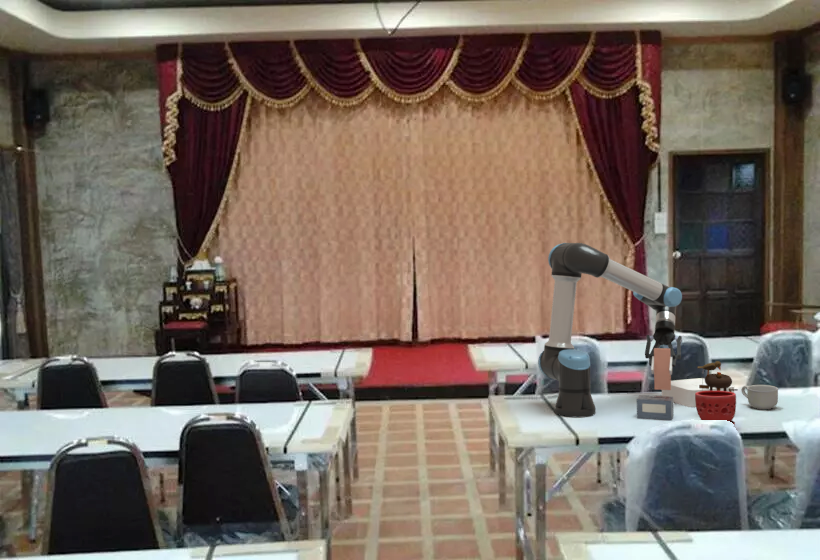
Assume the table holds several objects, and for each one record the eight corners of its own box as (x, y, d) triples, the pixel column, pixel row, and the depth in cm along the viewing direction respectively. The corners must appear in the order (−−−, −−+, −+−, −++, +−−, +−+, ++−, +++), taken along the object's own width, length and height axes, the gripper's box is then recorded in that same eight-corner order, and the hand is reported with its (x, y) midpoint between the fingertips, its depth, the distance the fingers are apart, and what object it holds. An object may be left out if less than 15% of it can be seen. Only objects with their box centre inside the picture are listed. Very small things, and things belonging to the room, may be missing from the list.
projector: (740, 403, 306) (740, 386, 306) (691, 408, 300) (691, 390, 299) (705, 394, 326) (705, 377, 326) (659, 398, 320) (659, 381, 319)
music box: (703, 418, 282) (703, 363, 281) (691, 411, 293) (691, 358, 292) (745, 416, 282) (744, 361, 281) (731, 410, 293) (731, 357, 292)
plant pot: (740, 425, 269) (740, 391, 269) (730, 433, 259) (730, 397, 258) (701, 421, 277) (701, 387, 277) (690, 428, 267) (690, 394, 266)
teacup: (784, 409, 293) (784, 388, 292) (762, 412, 289) (762, 390, 288) (755, 402, 306) (755, 382, 305) (734, 405, 302) (734, 384, 301)
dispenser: (636, 418, 284) (636, 398, 284) (639, 413, 292) (639, 394, 291) (671, 420, 279) (671, 400, 279) (673, 415, 287) (673, 395, 287)
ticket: (654, 389, 304) (653, 348, 304) (655, 388, 306) (654, 348, 305) (670, 390, 302) (670, 349, 301) (671, 389, 303) (670, 348, 303)
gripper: (690, 331, 313) (688, 378, 299) (641, 330, 321) (637, 376, 307) (689, 319, 308) (686, 367, 294) (639, 319, 316) (635, 365, 301)
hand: (661, 372), depth 300 cm, fingers closed on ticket, 6 cm apart
